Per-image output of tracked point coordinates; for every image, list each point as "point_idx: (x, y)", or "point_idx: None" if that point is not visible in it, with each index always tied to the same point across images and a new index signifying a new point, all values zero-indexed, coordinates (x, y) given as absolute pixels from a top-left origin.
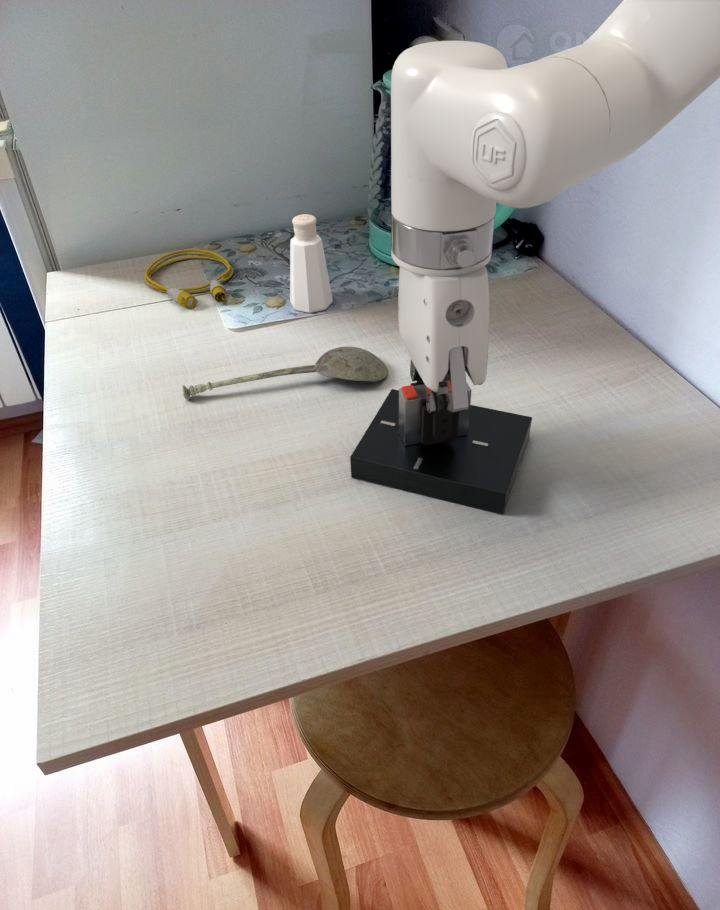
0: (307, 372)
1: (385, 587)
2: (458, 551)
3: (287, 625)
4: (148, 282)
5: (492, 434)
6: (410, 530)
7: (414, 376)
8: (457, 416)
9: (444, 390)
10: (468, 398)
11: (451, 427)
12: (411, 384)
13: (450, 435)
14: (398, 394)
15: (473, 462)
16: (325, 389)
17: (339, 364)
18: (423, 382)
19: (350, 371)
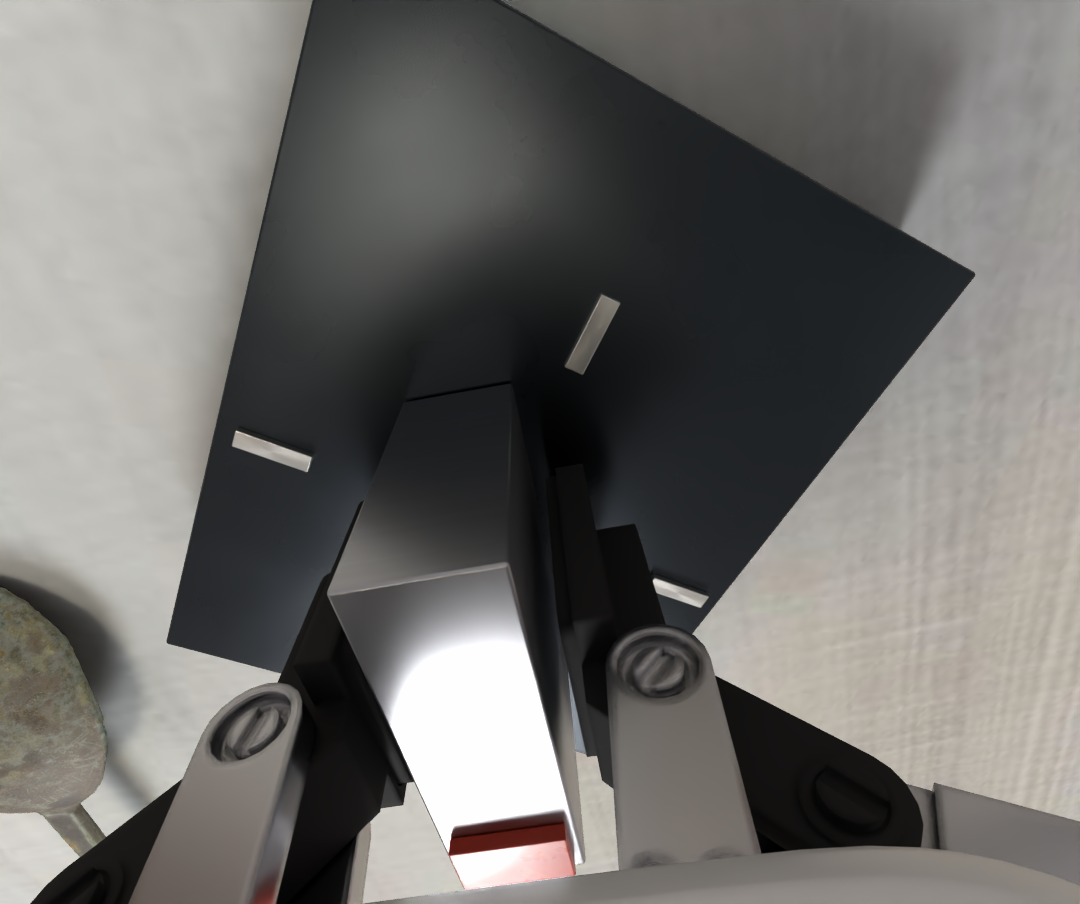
0: (91, 820)
1: (1016, 619)
2: (989, 434)
3: (1014, 772)
4: None
5: (513, 250)
6: (845, 554)
7: (367, 856)
8: (599, 553)
9: (496, 712)
10: (513, 534)
11: (646, 563)
12: (383, 807)
13: (635, 530)
14: (205, 624)
15: (715, 385)
16: (138, 737)
17: (33, 783)
18: (379, 778)
19: (62, 745)
